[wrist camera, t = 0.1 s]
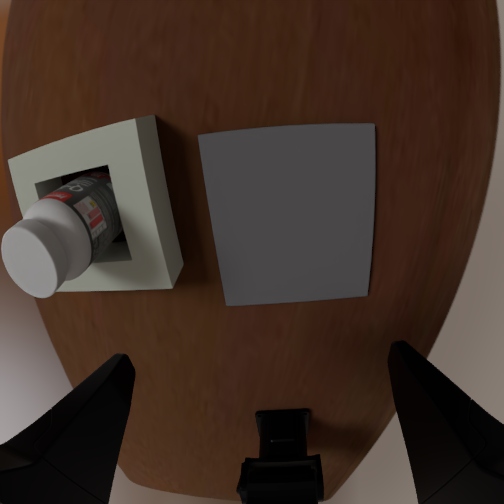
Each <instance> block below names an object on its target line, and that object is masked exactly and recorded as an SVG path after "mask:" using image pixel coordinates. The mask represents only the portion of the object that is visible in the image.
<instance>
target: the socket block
mask: <svg viewBox="0 0 504 504" xmlns="http://www.w3.org/2000/svg"><path fill="white" fill-rule="evenodd" d="M8 163H9V167H10V172H11V176H12V180H13V184H14V188H15V191H16V195H17V199H18V202H19V206H20V209H21V212H22V215H23V218H24V215H25V213H26V212H27V210H28V209H29V208H30V207H31V206H32V205H33V204H34V203H35V202H36V201H38V200H40V199H41V198H43V197H45V196H46V195H48V194H50V193H52V192H54V191H55V190H57V189H59V188H60V187H62V186H63V184H62V180H61V176H63V175H66V174H70V173H74V172H78V171H82V170H86V169H90V168H95V167H99V166H103V165H108V168H109V172H110V177H111V181H112V186H113V190H114V194H115V198H116V202H117V206H118V210H119V214H120V218H121V222H122V225H123V229H124V233H125V236H126V240H127V241H124V242H114V243H110V244H109V245H108V246H107V247H106V248H105V250H104V251H103V252H102V253H101V254H100V255H99V256H98V257H97V258H96V259H95V260H94V262H93V263H92V264H91V265H90V266H89V267H88V268H87V270H86V271H85V272H83V273H82V274H81V275H80V276H79V277H77V278H75V279H73V280H70V281H64V283H63V284H62V285H61V286H60V287H59V289H58V290H57V291H56V292H58V291H115V290H148V289H173V287H174V284H175V282H176V280H177V278H178V276H179V273H180V271H181V269H182V267H183V265H184V263H183V259H182V255H181V250H180V246H179V242H178V237H177V233H176V228H175V223H174V219H173V214H172V209H171V204H170V199H169V194H168V189H167V184H166V179H165V173H164V168H163V162H162V157H161V151H160V145H159V139H158V133H157V127H156V120H155V115H151V116H145V117H140V118H135V119H131V120H127V121H123V122H119V123H115V124H112V125H108V126H104V127H101V128H97V129H94V130H90V131H87V132H84V133H80V134H77V135H74V136H71V137H68V138H65V139H62V140H59V141H56V142H53V143H50V144H47V145H45V146H42V147H39V148H37V149H34V150H31V151H29V152H26V153H24V154H21V155H19V156H16V157H14V158H11V159H9V160H8Z"/></svg>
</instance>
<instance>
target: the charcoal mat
mask: <svg viewBox="0 0 504 504" xmlns="http://www.w3.org/2000/svg"><path fill="white" fill-rule="evenodd" d="M198 140H199V147H200V154H201V161H202V167H203V174H204V180H205V187H206V193H207V199H208V205H209V211H210V217H211V223H212V229H213V235H214V241H215V247H216V252H217V258H218V264H219V269H220V275H221V280H222V285H223V291H224V296H225V301H226V306H237V305H256V304H273V303H288V302H302V301H315V300H327V299H339V298H350V297H360V296H367V295H368V286H369V276H370V266H371V255H372V242H373V226H374V206H375V124H373V123H332V124H304V125H287V126H273V127H261V128H250V129H241V130H232V131H223V132H215V133H208V134H201V135H198Z"/></svg>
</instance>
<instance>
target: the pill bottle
mask: <svg viewBox="0 0 504 504" xmlns="http://www.w3.org/2000/svg"><path fill="white" fill-rule="evenodd" d="M122 230H123V225H122V222H121V218H120V214H119V210H118V206H117V202H116V198H115V194H114V190H113V186H112V181H111V177H110V175H109V174H107V173H104V172H97V171H96V172H89V173H86V174H84V175H82V176H80V177H78V178H76V179H75V180H73V181H71V182H69V183H67V184H66V185H64V186H62V187H60V188H59V189H57V190H55V191H54V192H52V193H50V194H48V195H46V196H45V197H43V198H41V199H40V200H38V201H36V202H35V203H34V204H33V205H32V206H31V207H30V208H29V209H28V210H27V212H26V213H25V215H24V218H23V220H21V221H19V222H18V223H16V224H15V225H14V226H13V227H12V228H10V229H9V230H8V231H7V232H6V233H5V235H4V237H3V240H2V246H1V251H2V257H3V261H4V264H5V267H6V269H7V271H8V273H9V275H10V276H11V278H12V279H13V280H14V281H15V283H16V284H17V285H19V287H20V288H21V289H23V290H24V291H25V292H27V293H29V294H30V295H32V296H35V297H39V298H46V297H50V296H51V295H53V294H54V293H55V292H56V291H57V290H58V289H59V287H60V286H61V285H62V284H63V283H64V281H70V280H73V279H75V278H77V277H79V276H80V275H81V274H82V273H83V272H85V271H86V270H87V268H88V267H89V266H90V265H91V264H92V263H93V262H94V260H95V259H96V258H97V257H98V256H99V255H100V254H101V253H102V252H103V251H104V250H105V248H106V247H107V246H108V245H109V244H110V243H111V242H112V241H113V240H114V239H115V238H116V237H117V236H118V235H119V234H120V233H121V232H122Z"/></svg>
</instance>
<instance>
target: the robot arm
mask: <svg viewBox="0 0 504 504" xmlns="http://www.w3.org/2000/svg"><path fill="white" fill-rule="evenodd" d="M388 369H389V374H390V380H391V386H392V392H393V398H394V403H395V407H396V411H397V414H398V418H399V422H400V425H401V429H402V433H403V437H404V441H405V445H406V448H407V453H408V457H409V461H410V466H411V470H412V474H413V479H414V484H415V488H416V493H417V498H418V504H504V424H502V423H501V422H499V421H498V420H497V419H495V418H494V417H493V416H491V415H490V414H489V413H488V412H486V411H485V410H484V409H483V408H482V407H480V406H479V405H478V404H477V403H476V402H475V401H474V400H473V399H472V400H471V398H470V397H469V396H468V395H467V394H466V393H465V392H463V391H462V390H461V389H460V388H459V387H458V386H457V385H456V384H454V383H453V382H452V381H451V380H450V379H449V378H448V377H446V376H445V375H444V374H443V373H442V372H441V371H440V370H438V369H437V368H436V367H435V366H434V365H432V363H430V362H429V361H428V360H427V359H426V358H425V357H423V356H422V355H421V354H420V353H419V352H418V351H416V350H415V349H414V348H413V347H412V346H410V345H409V344H408V343H407V342H406V341H404V340H401V341H394V342H393V343H392V344H391V348H390V352H389V356H388ZM134 381H135V368H134V366H133V364H132V363H131V361H130V359H129V357H128V355H126V354H120V353H117V354H115V355H113V356H112V357H111V358H110V359H109V360H107V361H106V362H105V363H104V364H103V365H102V366H100V367H99V368H98V369H97V370H96V371H94V372H93V373H92V374H91V375H90V376H89V377H87V378H86V379H85V380H84V381H83V382H81V383H80V384H79V385H78V386H77V387H76V388H74V389H73V390H72V391H71V392H70V393H69V394H67V395H66V396H65V397H64V398H63V399H61V400H60V401H59V402H58V403H57V404H56V405H54V406H53V407H52V409H50V410H48V411H47V412H46V413H45V414H44V415H43V416H41V417H40V418H39V419H38V420H36V421H35V422H34V423H33V424H31V425H30V426H28V427H27V428H26V429H24V430H23V431H21V432H20V433H19V434H17V435H16V436H14V437H13V438H11V439H10V440H8V441H7V442H5V443H4V444H1V445H0V504H108V503H109V498H110V492H111V488H112V483H113V479H114V474H115V469H116V465H117V461H118V456H119V452H120V448H121V444H122V440H123V436H124V432H125V428H126V424H127V420H128V416H129V412H130V407H131V400H132V394H133V387H134ZM255 417H256V422H257V427H258V432H259V437H260V449H259V458H245V462H244V463H242V467H241V475H240V479H239V482H238V486H237V490H236V491H237V493H238V494H239V495H240V497H241V501H242V504H318V502H323V498H324V484H323V474H322V466H321V459H320V454H316V455H313V456H307V441H306V435H308V426H309V410H308V409H299V410H282V411H258V412H256V413H255Z"/></svg>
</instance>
